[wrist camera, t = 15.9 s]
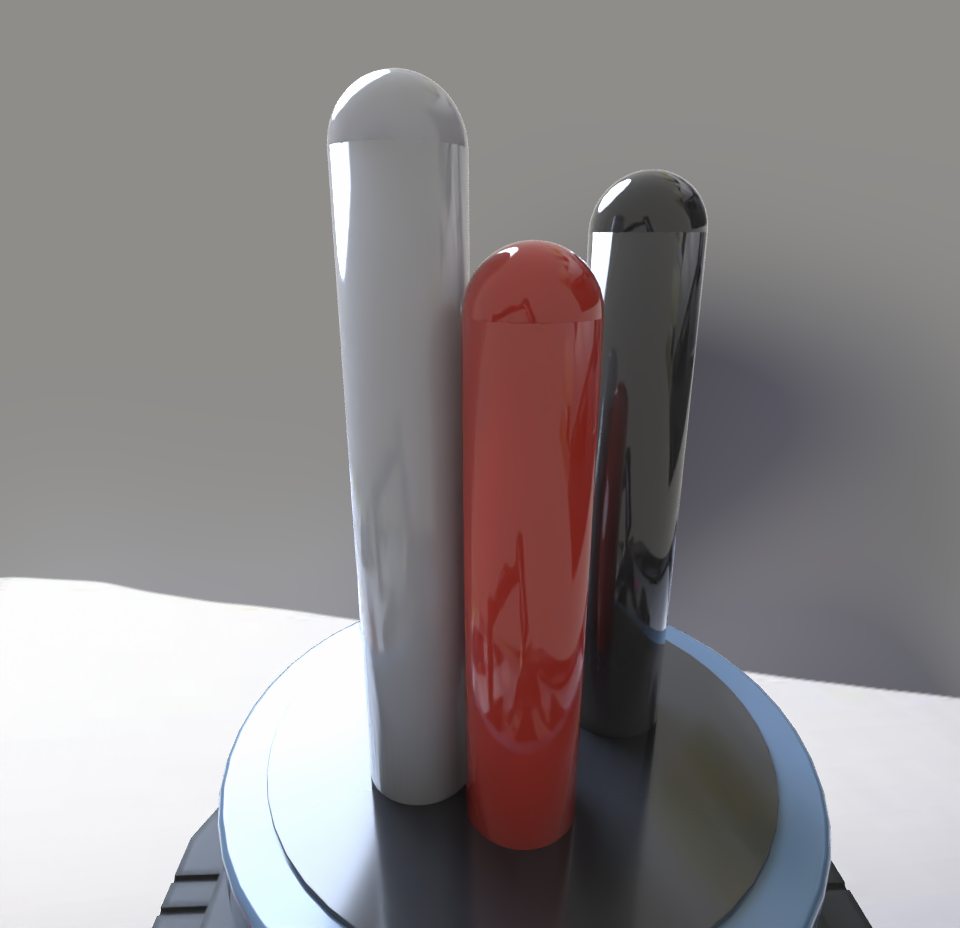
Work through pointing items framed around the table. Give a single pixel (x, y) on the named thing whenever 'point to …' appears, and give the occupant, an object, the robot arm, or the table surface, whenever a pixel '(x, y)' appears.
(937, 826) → the table surface
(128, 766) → the table surface
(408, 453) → the pen cup
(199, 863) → the robot arm
